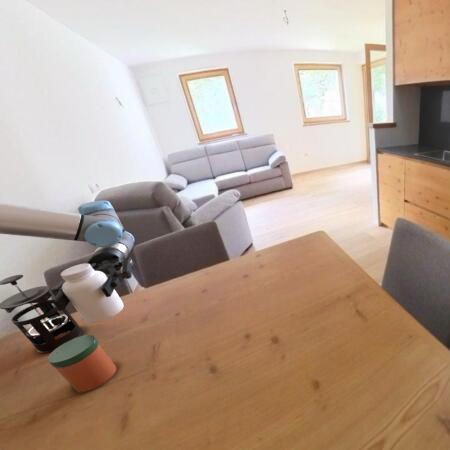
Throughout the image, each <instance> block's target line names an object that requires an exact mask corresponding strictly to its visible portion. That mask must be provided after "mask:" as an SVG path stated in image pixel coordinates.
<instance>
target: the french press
mask: <svg viewBox="0 0 450 450" xmlns="http://www.w3.org/2000/svg"><path fill="white" fill-rule="evenodd" d="M23 277H24V275H23V274H16V275H11V276H9V277H6V278H4V279H2V280H0V286H3V285H8V284H10V285H11V286H14V287H15V288H16V289H17V290H18V291H19V292H18V293H15V294H12V295H11V296H9V297H7V298H6V299H4V300H2V301H1V302H0V309H1V310H5V312H6V313H8V314H10V313H12V312H13V311H14V310H15V309H16V308H18V307H21V306H24V305H28V304H29V306H27V307H25V308H23V309H22V310H20V311H18V312H17V313H15V314H14V315H13V316H12V317H11V320H10V321H11V322H12V323H13V324H14V325H15V326H16V327H17V328H18V329H19V330H20V331H21V333H22V334H23V335H24V336H25V337H26V338H27V339H28V340H29V341H30V342H31V344H32V345H33V347H34V348H35V349H36V351H37V353H38V354H43V355H45V354H51V353H52V352H53V351H54V350H55V349H56V348H58V347H59V346H61V345H62V344H64V343H66V342H68V341H70V340H72V339H74V338H77V337H80V336H83V334H84V332H85V331H84V328H83V327H80V325H79V324H78V322H77V321H76V320H75V318H74V317H73V316H72V315H71V313H70V312H69V311H68V309H66V308H67V307H66V308H65V309H64V310H62V311H61V312H63V313H62V314H60V313H59V310H58V308H57V307H56V306H55V305H54V303H53V302H54V301H55V298H54V299H52V296H53V293H52V292H51V291H50V290H51V287H50V286H47V285H42V286H36V287H32V288H29V289H25V290H22V289H21V288H20V287H19V286H18V282H17V281H19V280H21V279H22V278H23ZM50 298H51V299H50ZM38 308H39V310H40V311H41V312H42V314H41V312H40V311H39V310H38ZM31 311H35V312H36V313H37V314H38V315H37V316H35V317H33V318H29V319H26V320H21V321H19V319H20V318H21V317H23V316H24V315H26V314H27V313H30V312H31ZM28 325H31V327H30V328H29V329H27V328H26V327H25V326H28ZM62 334H64V335H62ZM59 335H62V336H60V337H58V336H59ZM56 337H58V338H56Z"/></svg>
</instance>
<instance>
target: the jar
mask: <svg viewBox="0 0 450 450" xmlns="http://www.w3.org/2000/svg"><path fill="white" fill-rule="evenodd" d="M54 368H55V369H56V370H57V371H58V372H59V373H60V375H61V376H62V377H63V378H64V380H66V381H67V383H69V385H70V386H71V387H72V388H73V389H74V390H75V391H76V392H78V393H85V392H88V391H89V392H90V391H92V390H94V389H96V388H99V387H100V386H102V385H103V384H105V383H106V382H107V381H109V380H110V379H111V378H112V377H113V376H114V375H115V373H116V372H117V365H116V364H115V363H114V362H113V361H112V359H111V358H110V356H109V355H108V353H106V351H105V350H104V348H103V347H102V345H100V343H99V344H98V347H97V348H96V349H95V350H94V351H93V352H92V353H91V354H90V355H88V356H87V357H85V358H84V359H82V360H80V361H78V362H76V363H74V364H72V365H69V366H66V367H61V368H56V367H54Z"/></svg>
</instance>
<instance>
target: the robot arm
mask: <svg viewBox="0 0 450 450" xmlns="http://www.w3.org/2000/svg"><path fill="white" fill-rule="evenodd" d="M77 211H78V213H75V212H74V213H73V212H68V211H67V212H66V211H60V210H55V209H54V210H53V209H46V208H39V207H33V206H25V205H17V204H12V203H5V202H0V235H9V236H21V237H31V238H41V239H54V240H64V241H74V242H83V243H88V244H90V245H91V246H93V247H96V249H95V251H94V252H93V253H92V254H91V256H90V257H89V259H88V261H87V264H90V265H91V267H92V268H93V269H94V271H101V272H103V273H104V274H105V275H106V276H107V275H108V276H107V280H106V282H105V284H104V285H103V287H102V289H101V290H102V291H103V293H104V294H105V296H106V297H110V296H111V294H112V292H113V291H114V289H115V288H116V287H119V286H120V285H121V282H123V281H124V280H125V279H126V280H130V279H131V278H132V276H133V273H132V271H133V266H134V265H135V262H134V261H133V259H132V257H131V256H129V255H130V253H131V251H132V250H133V248H134V245H135V237H134V235H133V234H132V233H130V232H129V231H126V229H125V228H124V225H123V224H122V222H121V220H120V218H119V216H118V214H117V212H116V210H115V208H114V207H113V205H112V204H111V202H110V201H109V200H103V199H102V200H94V201H90V202H85V203H82V204H80V205H79V206H78V207H77ZM120 270H121V272H120V273H119V271H120ZM65 282H66V281H65V280H64V279H63V278H62V279H61V280H60V281H59V282H58V283H57V284H55V285H54V286H53V287H52V288H50V293H51V294H52V296H54V299H55V301H54V302H53V303H52V304H53V305H54V307H57V308H58V312H63V311H62V310H64V309H65V308H67V306H68V305H69V304H70V303H71V301H70V300H69V299H68V297H67V296H66V295H65V293H64V292H63V290H62V285H63V284H64V283H65Z"/></svg>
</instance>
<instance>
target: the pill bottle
mask: <svg viewBox="0 0 450 450" xmlns="http://www.w3.org/2000/svg"><path fill="white" fill-rule="evenodd" d="M60 276H61V278H62V280H63V279H64V280H65V281H66V282H65V283H64V284H63V285H62V290H63V292H64V293H65V295H66V296H67V297H68V299H69V300H70V304H71V305H72V306H73V307H74V309H75V310H76V311H77V313H78V314H79V315H80V317H81V318H82V319H83V321H84V322H85V323H88V324H97V323H101V322H104V321H106V320H109V319H111V318H113V317H114V316H116V315H118V314H119V313H120V312H122V310H123V309H124V305H125V304H124V301H123V300H122V299H121V297H120V296H119V294H118V292H117V291H116V290H115V289H114V291H113V292H112V294H111V296H110V297H106V296H105V294H104V293H103V291H102V290H101V289H102V287H103V285H104V284H105V282H106V280H107V278H108V276H107V275H105V274H104V273H103V272H101V271H94V269H93V268H92V267H91V265H90V264H88V263H80V264H75V265H73V266H70V267H68V268H66V269H63V271H61V273H60Z"/></svg>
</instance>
